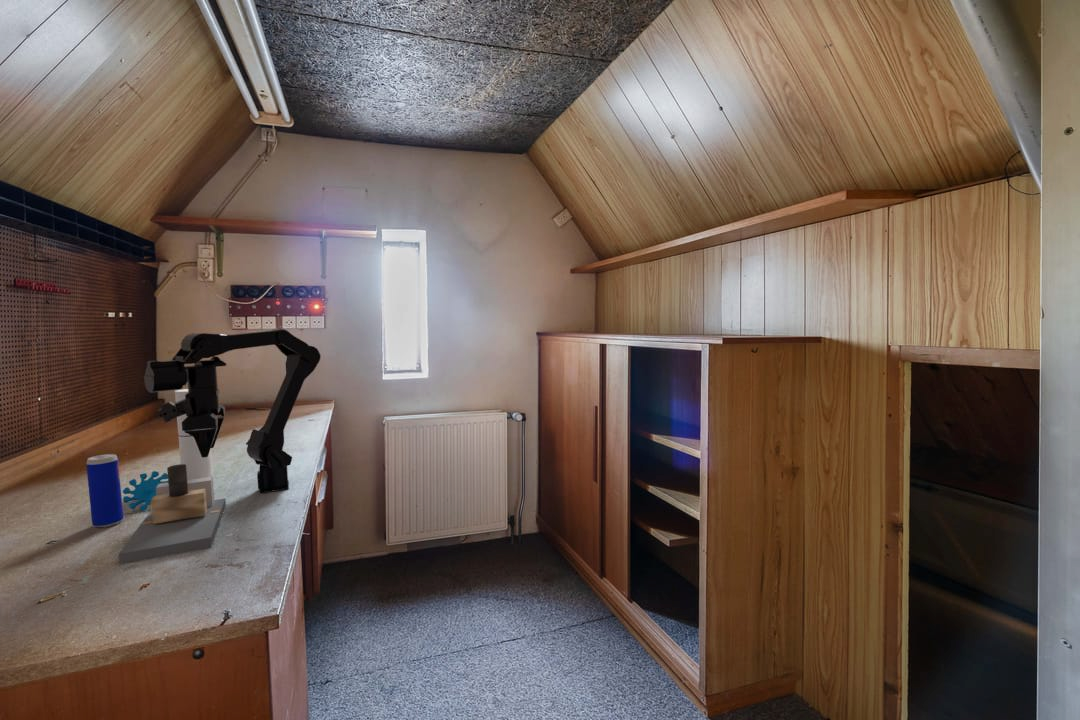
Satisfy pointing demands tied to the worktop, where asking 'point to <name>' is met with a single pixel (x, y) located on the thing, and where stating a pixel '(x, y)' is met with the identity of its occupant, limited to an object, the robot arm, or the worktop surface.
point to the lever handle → (178, 499)
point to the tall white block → (191, 449)
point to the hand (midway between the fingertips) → (207, 452)
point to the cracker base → (176, 529)
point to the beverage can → (104, 490)
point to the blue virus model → (143, 490)
